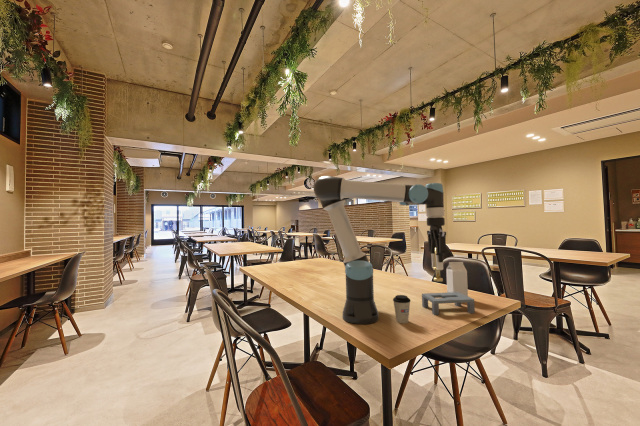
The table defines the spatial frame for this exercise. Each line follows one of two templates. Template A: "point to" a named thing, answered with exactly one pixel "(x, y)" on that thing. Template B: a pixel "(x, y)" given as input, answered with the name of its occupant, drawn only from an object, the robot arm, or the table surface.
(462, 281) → the milk carton
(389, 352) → the table surface
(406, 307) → the coffee cup
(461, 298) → the keyhole plate
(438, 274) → the brass t bolt
